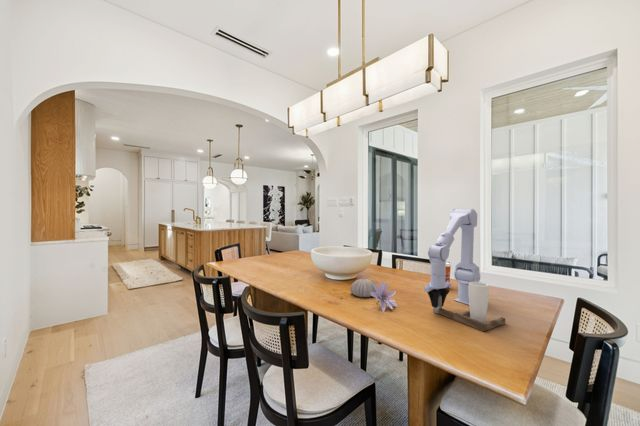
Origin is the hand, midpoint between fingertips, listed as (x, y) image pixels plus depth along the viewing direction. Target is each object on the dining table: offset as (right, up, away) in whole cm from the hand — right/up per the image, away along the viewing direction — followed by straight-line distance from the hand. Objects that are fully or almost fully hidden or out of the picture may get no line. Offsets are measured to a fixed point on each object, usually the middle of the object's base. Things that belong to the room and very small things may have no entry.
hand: (437, 306), depth 114 cm
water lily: (-21, -3, +6) cm, 22 cm away
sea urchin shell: (-27, -3, +24) cm, 36 cm away
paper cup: (+19, -3, +37) cm, 41 cm away
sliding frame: (+9, -3, -5) cm, 11 cm away
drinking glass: (+11, -3, -10) cm, 15 cm away
